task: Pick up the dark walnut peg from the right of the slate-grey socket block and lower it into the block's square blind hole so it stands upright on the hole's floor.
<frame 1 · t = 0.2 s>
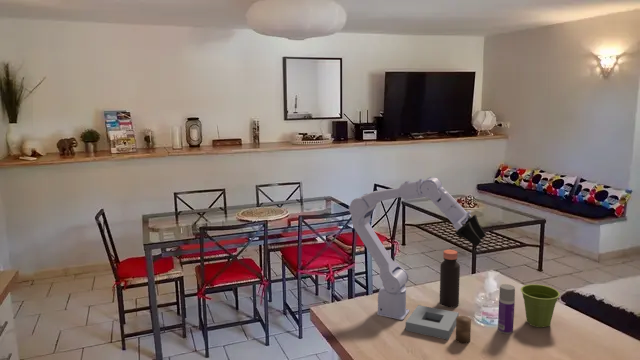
hand: (481, 240, 150), 31 cm above the counter, tool tilted 45°, fingers open, 7 cm apart
socket block: (432, 325, 160), on the counter
plant pot: (538, 323, 160), on the counter
container: (505, 330, 156), on the counter
bottle: (449, 304, 176), on the counter
peg: (462, 339, 151), on the counter
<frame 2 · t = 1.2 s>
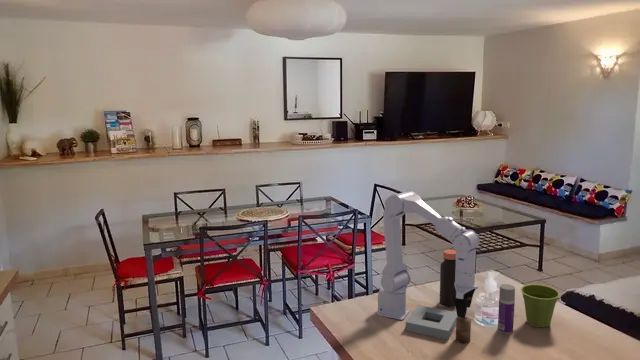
hand: (463, 311, 149), 9 cm above the counter, tool pointing down, fingers open, 7 cm apart
nothing on the counter moved.
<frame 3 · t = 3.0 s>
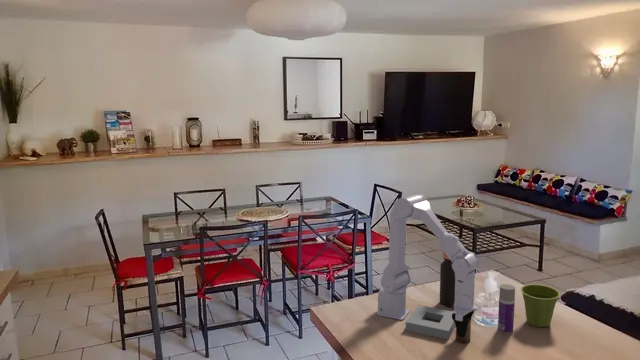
hand: (463, 332, 150), 2 cm above the counter, tool pointing down, fingers closed on peg, 4 cm apart
peg: (462, 339, 151), on the counter, touching gripper
everything else where it was.
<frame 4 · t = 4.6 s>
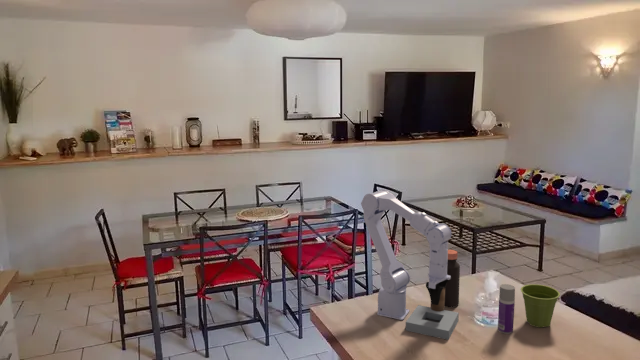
hand: (437, 301, 157), 9 cm above the counter, tool pointing down, fingers closed on peg, 4 cm apart
peg: (437, 308, 157), point 7 cm above the counter, touching gripper
everything else where it was.
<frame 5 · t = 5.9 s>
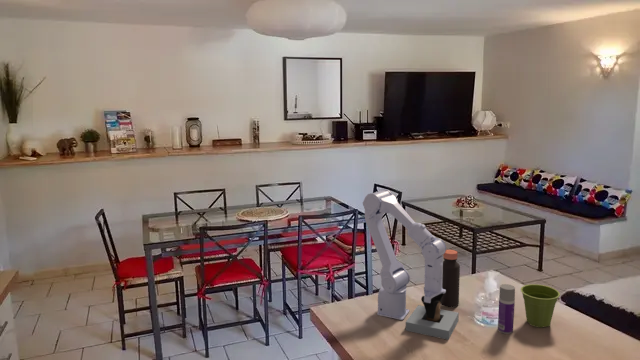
hand: (432, 314, 159), 4 cm above the counter, tool pointing down, fingers closed on peg, 4 cm apart
peg: (433, 321, 160), point 1 cm above the counter, touching gripper
everything else where it was.
when the fingers open (4 cm above the counter, at t = 6.7 s): peg stays where it is, resting on socket block.
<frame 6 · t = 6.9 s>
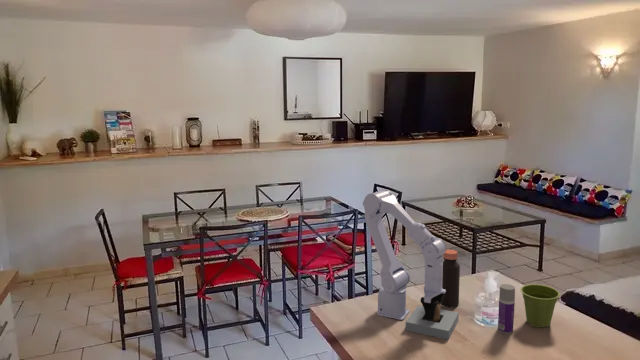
hand: (432, 314, 159), 4 cm above the counter, tool pointing down, fingers open, 6 cm apart
peg: (433, 323, 160), point 1 cm above the counter, touching socket block
everything else where it was.
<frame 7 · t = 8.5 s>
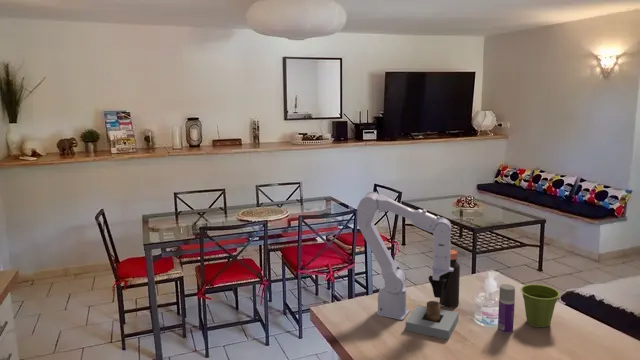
hand: (440, 292, 163), 9 cm above the counter, tool pointing down, fingers open, 7 cm apart
nothing on the counter moved.
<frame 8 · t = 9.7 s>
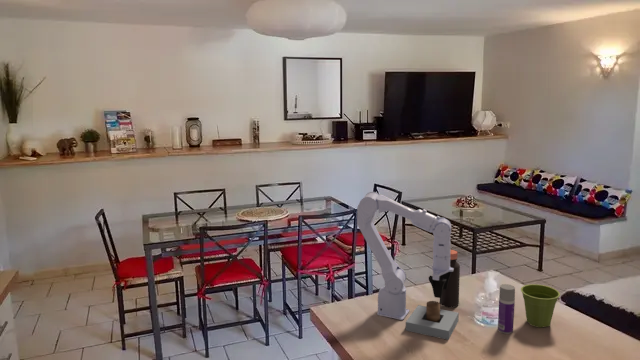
hand: (440, 292, 163), 9 cm above the counter, tool pointing down, fingers open, 7 cm apart
nothing on the counter moved.
at the end: peg 0.2 cm off-centre on the socket block, point 0.8 cm above the socket block's base; peg tilted 0°; the gripper is holding nothing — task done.
